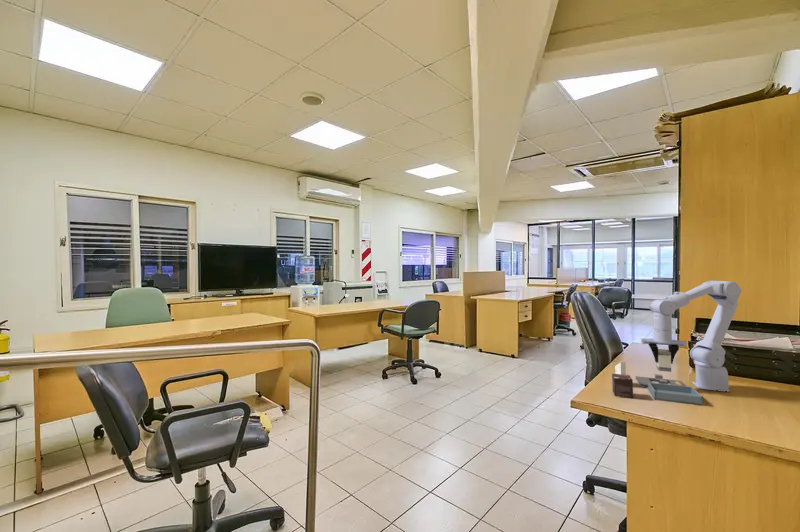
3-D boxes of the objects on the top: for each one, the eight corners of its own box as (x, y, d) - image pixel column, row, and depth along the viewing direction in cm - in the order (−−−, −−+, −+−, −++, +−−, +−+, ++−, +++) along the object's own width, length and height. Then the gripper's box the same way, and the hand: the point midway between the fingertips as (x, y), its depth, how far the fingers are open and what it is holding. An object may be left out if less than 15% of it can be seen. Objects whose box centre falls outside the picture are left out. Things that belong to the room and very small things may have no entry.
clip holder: (681, 383, 142) (681, 376, 142) (689, 392, 132) (689, 384, 132) (635, 378, 149) (635, 371, 149) (640, 386, 139) (640, 379, 139)
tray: (692, 394, 129) (692, 386, 129) (703, 405, 119) (702, 397, 119) (648, 389, 135) (647, 382, 135) (654, 399, 125) (654, 391, 125)
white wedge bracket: (626, 383, 136) (620, 362, 140) (617, 388, 144) (612, 368, 148) (636, 384, 135) (630, 362, 139) (626, 389, 143) (621, 368, 148)
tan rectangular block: (668, 369, 138) (668, 349, 138) (671, 371, 134) (670, 351, 134) (656, 368, 139) (656, 348, 139) (658, 370, 136) (658, 351, 136)
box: (630, 393, 132) (629, 374, 132) (633, 399, 127) (633, 379, 127) (612, 391, 135) (611, 373, 135) (614, 396, 129) (614, 377, 129)
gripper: (682, 328, 137) (683, 361, 137) (639, 326, 143) (640, 358, 143) (687, 331, 131) (688, 366, 131) (642, 329, 137) (643, 362, 137)
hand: (663, 362), depth 137 cm, fingers closed on tan rectangular block, 4 cm apart
